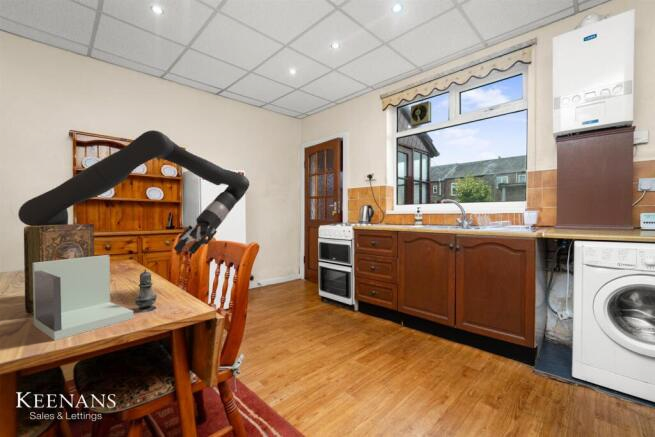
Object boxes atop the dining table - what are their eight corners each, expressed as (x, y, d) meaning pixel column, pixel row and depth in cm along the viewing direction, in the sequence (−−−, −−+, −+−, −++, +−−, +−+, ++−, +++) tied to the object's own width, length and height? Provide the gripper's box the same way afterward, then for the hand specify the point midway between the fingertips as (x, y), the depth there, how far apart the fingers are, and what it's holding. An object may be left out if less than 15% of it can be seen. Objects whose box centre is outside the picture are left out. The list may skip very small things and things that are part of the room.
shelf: (34, 325, 73) (32, 262, 73) (108, 307, 87) (107, 254, 86) (54, 340, 65) (53, 269, 64) (133, 318, 78) (132, 259, 78)
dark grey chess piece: (152, 312, 83) (151, 270, 83) (130, 313, 82) (129, 271, 82) (160, 305, 89) (160, 266, 89) (139, 306, 88) (139, 267, 88)
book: (85, 297, 97) (83, 223, 96) (98, 298, 96) (97, 223, 95) (25, 315, 81) (23, 226, 80) (40, 316, 80) (38, 226, 79)
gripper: (194, 209, 106) (163, 243, 97) (219, 208, 98) (187, 245, 89) (207, 222, 111) (178, 256, 101) (232, 223, 103) (203, 260, 93)
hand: (183, 251), depth 95 cm, fingers open, 8 cm apart
